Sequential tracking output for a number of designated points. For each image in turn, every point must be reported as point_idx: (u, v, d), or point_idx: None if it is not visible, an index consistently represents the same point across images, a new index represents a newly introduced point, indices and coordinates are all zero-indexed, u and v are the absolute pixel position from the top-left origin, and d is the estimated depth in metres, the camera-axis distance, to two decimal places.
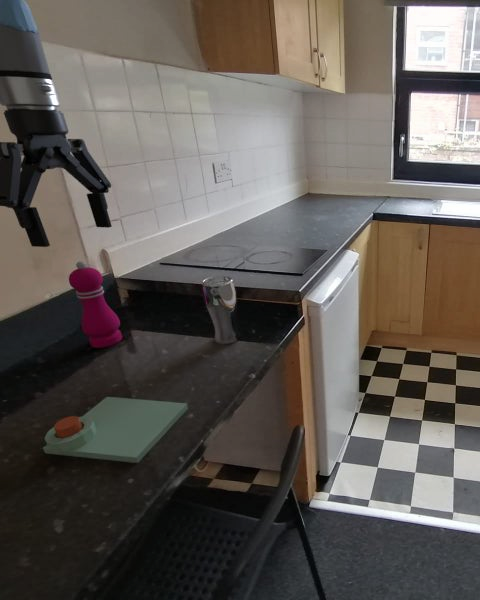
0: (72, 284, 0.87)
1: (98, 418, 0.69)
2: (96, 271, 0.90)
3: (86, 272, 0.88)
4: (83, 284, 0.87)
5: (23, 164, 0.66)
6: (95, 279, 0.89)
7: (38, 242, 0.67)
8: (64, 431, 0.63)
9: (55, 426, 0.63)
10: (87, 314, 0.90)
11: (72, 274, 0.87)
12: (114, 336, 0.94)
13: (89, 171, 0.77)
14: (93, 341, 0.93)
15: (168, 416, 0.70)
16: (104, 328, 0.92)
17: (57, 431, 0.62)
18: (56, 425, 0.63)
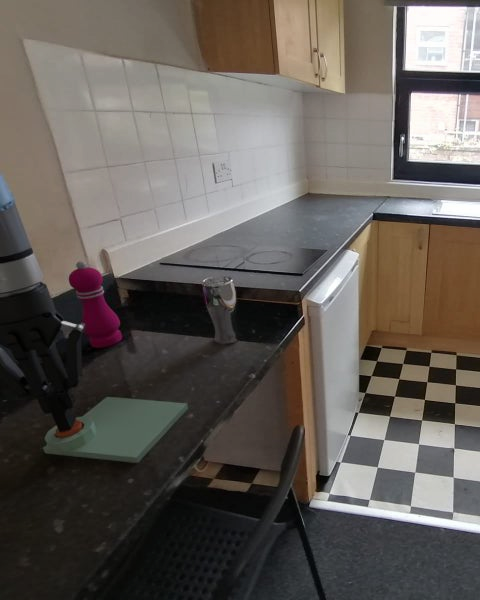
0: (72, 284, 0.87)
1: (98, 418, 0.69)
2: (96, 271, 0.90)
3: (86, 272, 0.88)
4: (83, 284, 0.87)
5: None
6: (95, 279, 0.89)
7: None
8: (66, 435, 0.63)
9: (57, 430, 0.63)
10: (87, 314, 0.90)
11: (72, 274, 0.87)
12: (114, 336, 0.94)
13: None
14: (93, 341, 0.93)
15: (168, 416, 0.70)
16: (104, 328, 0.92)
17: (59, 435, 0.63)
18: None
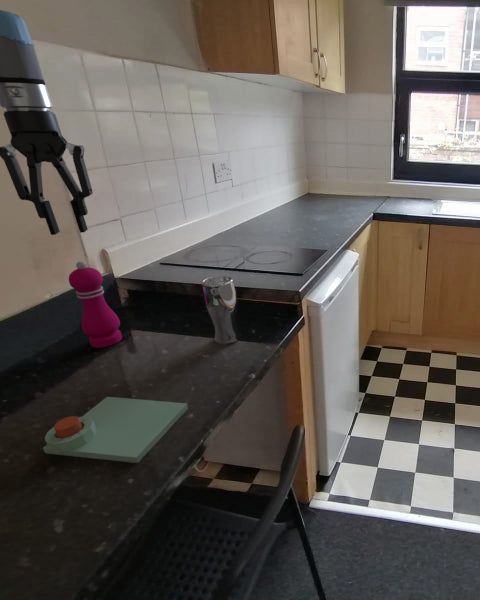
0: (72, 284, 0.87)
1: (98, 418, 0.69)
2: (96, 271, 0.90)
3: (86, 272, 0.88)
4: (83, 284, 0.87)
5: None
6: (95, 279, 0.89)
7: None
8: (64, 431, 0.63)
9: (55, 426, 0.63)
10: (87, 314, 0.90)
11: (72, 274, 0.87)
12: (114, 336, 0.94)
13: None
14: (93, 341, 0.93)
15: (168, 416, 0.70)
16: (104, 328, 0.92)
17: (57, 431, 0.62)
18: (56, 425, 0.63)
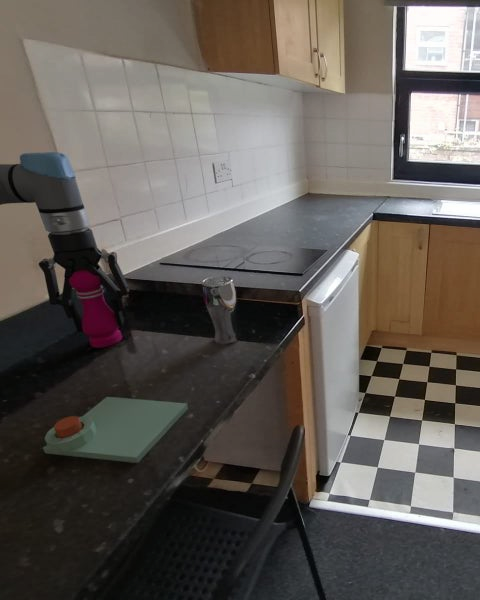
0: (72, 284, 0.87)
1: (98, 418, 0.69)
2: None
3: (86, 272, 0.88)
4: (83, 284, 0.87)
5: None
6: (95, 279, 0.89)
7: None
8: (64, 431, 0.63)
9: (55, 426, 0.63)
10: (87, 314, 0.90)
11: (72, 274, 0.87)
12: (114, 336, 0.94)
13: None
14: (93, 341, 0.93)
15: (168, 416, 0.70)
16: (104, 328, 0.92)
17: (57, 431, 0.62)
18: (56, 425, 0.63)
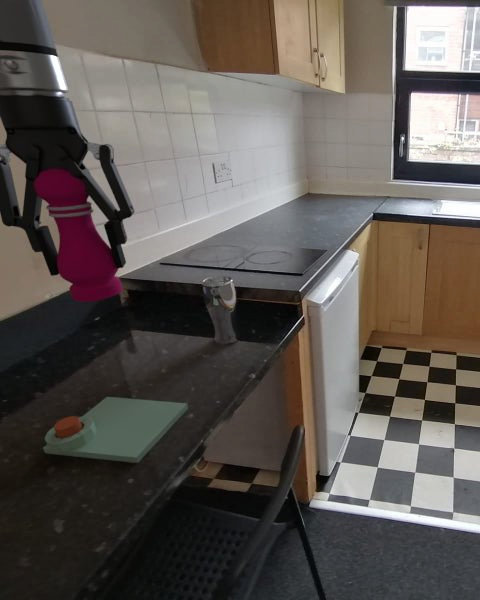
0: (39, 190, 0.52)
1: (98, 418, 0.69)
2: None
3: (62, 171, 0.53)
4: (58, 191, 0.52)
5: None
6: (78, 185, 0.54)
7: None
8: (64, 431, 0.63)
9: (55, 426, 0.63)
10: (66, 245, 0.56)
11: (39, 173, 0.52)
12: (110, 285, 0.60)
13: None
14: (76, 290, 0.58)
15: (168, 416, 0.70)
16: (93, 269, 0.57)
17: (57, 431, 0.62)
18: (56, 425, 0.63)
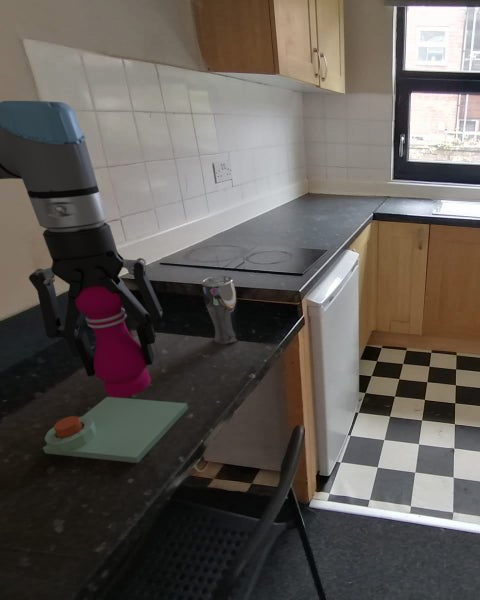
0: (80, 307, 0.57)
1: (98, 418, 0.69)
2: None
3: (101, 288, 0.58)
4: (97, 307, 0.58)
5: None
6: (115, 299, 0.59)
7: None
8: (64, 431, 0.63)
9: (55, 426, 0.63)
10: (103, 351, 0.61)
11: (80, 292, 0.57)
12: (140, 380, 0.65)
13: None
14: (110, 388, 0.63)
15: (168, 416, 0.70)
16: (126, 370, 0.62)
17: (57, 431, 0.62)
18: (56, 425, 0.63)
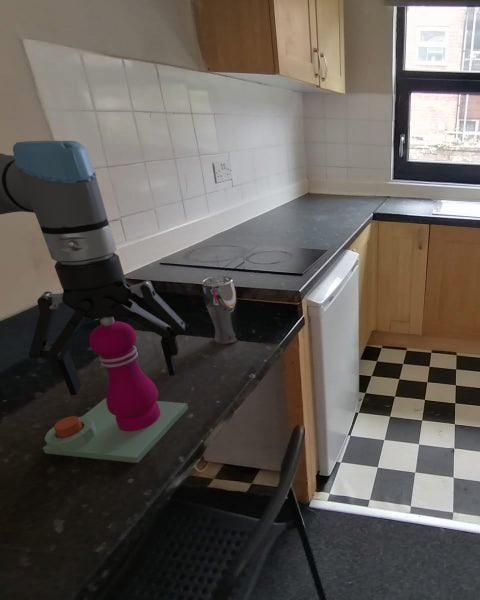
0: (95, 348, 0.60)
1: (98, 418, 0.69)
2: (128, 327, 0.63)
3: (114, 330, 0.61)
4: (111, 349, 0.60)
5: None
6: (127, 340, 0.62)
7: None
8: (64, 431, 0.63)
9: (55, 426, 0.63)
10: (115, 388, 0.64)
11: (95, 334, 0.60)
12: (151, 414, 0.68)
13: None
14: (122, 422, 0.66)
15: (168, 416, 0.70)
16: (138, 406, 0.65)
17: (57, 431, 0.62)
18: (56, 425, 0.63)
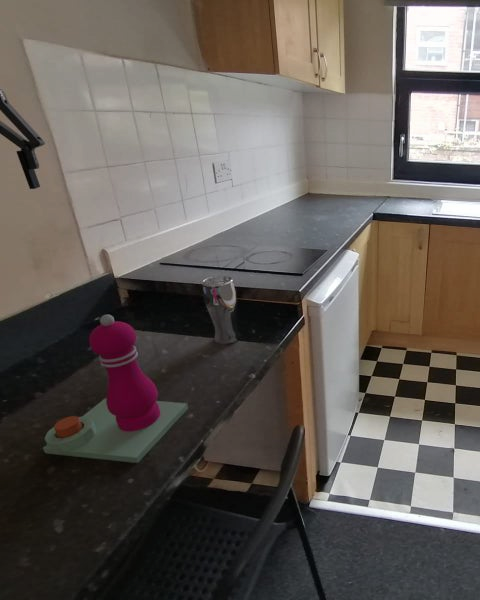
0: (94, 348, 0.60)
1: (98, 418, 0.69)
2: (128, 327, 0.63)
3: (114, 330, 0.61)
4: (111, 349, 0.60)
5: None
6: (127, 340, 0.62)
7: None
8: (64, 431, 0.63)
9: (55, 426, 0.63)
10: (115, 388, 0.64)
11: (94, 334, 0.60)
12: (151, 414, 0.68)
13: None
14: (122, 422, 0.66)
15: (168, 416, 0.70)
16: (138, 406, 0.65)
17: (57, 431, 0.62)
18: (56, 425, 0.63)
